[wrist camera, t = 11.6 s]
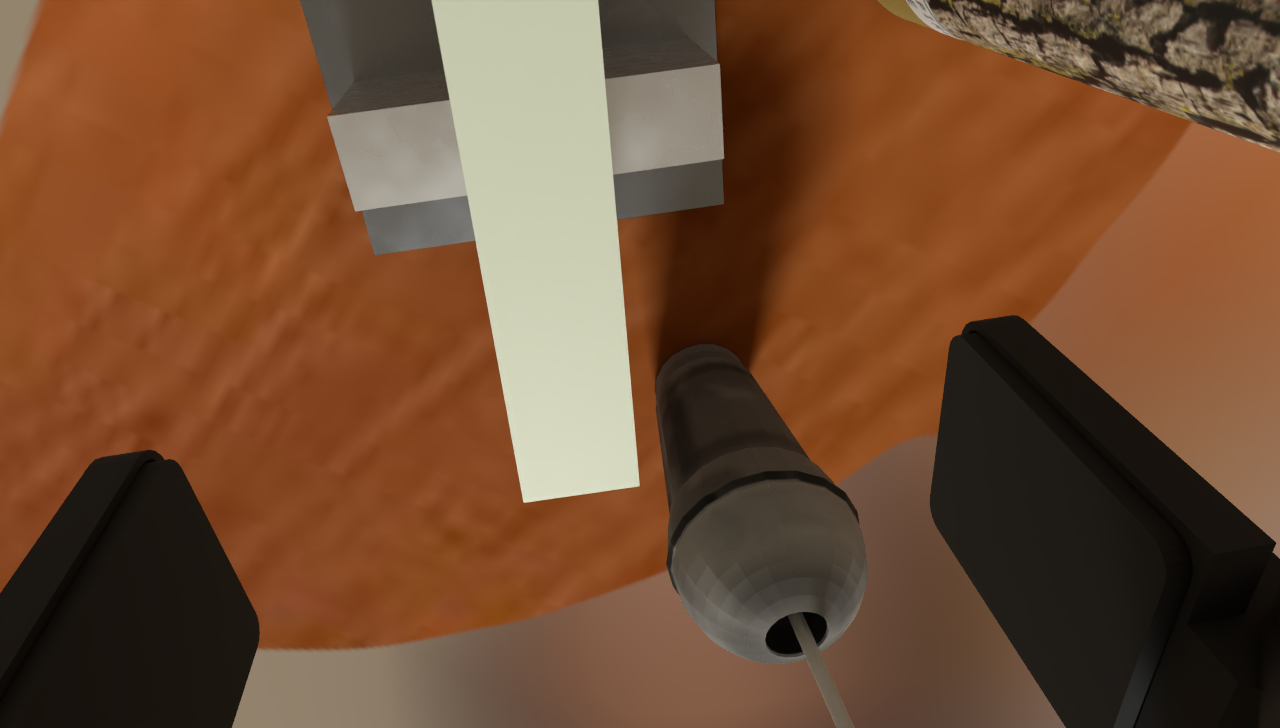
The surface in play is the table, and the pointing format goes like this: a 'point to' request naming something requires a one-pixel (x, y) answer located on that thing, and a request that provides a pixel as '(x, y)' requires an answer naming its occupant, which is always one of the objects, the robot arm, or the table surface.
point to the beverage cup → (754, 521)
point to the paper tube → (1138, 51)
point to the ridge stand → (424, 127)
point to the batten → (545, 233)
